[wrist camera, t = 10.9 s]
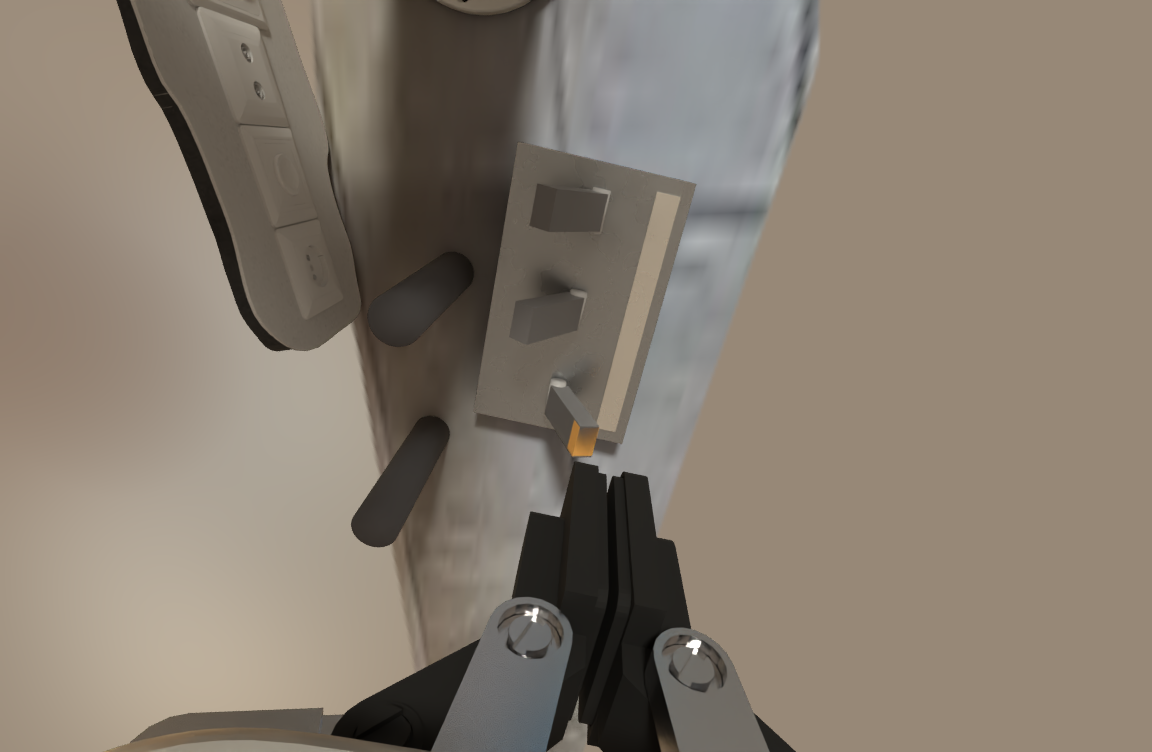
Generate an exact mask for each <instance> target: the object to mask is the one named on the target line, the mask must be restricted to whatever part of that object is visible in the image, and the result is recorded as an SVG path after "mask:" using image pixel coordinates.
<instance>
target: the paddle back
mask: <svg viewBox="0 0 1152 752" xmlns="http://www.w3.org/2000/svg"><path fill="white" fill-rule="evenodd" d="M544 415H545V416H546V417H547V418H548V420H549V422H550V423H551V425H552V426H553V428H554V429H555V431H556V433H557V434H558V436H559V437H560V439H561V440H562V442H563V444H564V445H565V447H566V448H567V450H568V451H569V453H570V455H571V456H572V457H591V456H592V453H593V449H594V446H595V442H596V438H597V434H598V431H599V425H598V424H597V423H596V421H595V420H594V419H593V417H592V416H591V415H590V414H589V412H588V411H587V410H586V408H585V407H584V406H583V405H582V403H581V402H580V401H579V399H578V398H577V397H576V396H575V394H574V393H573V392H572V390H571V389H570V388H569V387H568V386H566V381H565V380H563V379H559V378H552V379H551V382H550V386H549V391H548V395H547V400H546V404H545V409H544Z"/></svg>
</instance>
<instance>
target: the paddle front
mask: <svg viewBox="0 0 1152 752" xmlns="http://www.w3.org/2000/svg"><path fill="white" fill-rule="evenodd" d="M610 194H611V191H609V190H606V189H602V188H597V187H593V190H590V189H581V188H573V187H564V186H556V185H547V184H539V183H537V187H536V192H535V198H534V203H533V209H532V214H531V220H530V225H529V226H532V227H535V228H538V229H541V230H544V231H547V232H590V233H594V234H601V232H602V228H603V224H604V220H605V215H606V211H607V207H608V202H609V198H610Z"/></svg>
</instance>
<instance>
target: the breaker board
mask: <svg viewBox="0 0 1152 752" xmlns="http://www.w3.org/2000/svg"><path fill="white" fill-rule="evenodd" d="M537 183H539V184H547V185H556V186H564V187H573V188H581V189H590V190H593V187H597V188H602V189H606V190H609V191H611V194H610V198H609V202H608V207H607V211H606V215H605V220H604V224H603V228H602V232H601V234H594V233H590V232H547V231H544V230H541V229H538V228H535V227H532V226H529V225H530V220H531V214H532V209H533V203H534V198H535V192H536V187H537ZM695 187H696V184H694V183H691V182H687V181H683V180H679V179H674V178H670V177H666V176H662V175H657V174H653V173H649V172H645V171H641V170H636V169H632V168H628V167H624V166H619V165H615V164H611V163H607V162H603V161H598V160H594V159H590V158H586V157H581V156H577V155H573V154H569V153H564V152H560V151H556V150H552V149H548V148H543V147H539V146H535V145H531V144H526V143H522V142H518V145H517V151H516V157H515V163H514V169H513V175H512V181H511V187H510V193H509V199H508V205H507V211H506V217H505V223H504V229H503V235H502V241H501V247H500V253H499V260H498V266H497V272H496V278H495V284H494V290H493V296H492V302H491V308H490V314H489V320H488V326H487V332H486V338H485V344H484V350H483V356H482V362H481V368H480V374H479V381H478V387H477V393H476V399H475V405H474V411H473V412H475V413H479V414H484V415H489V416H493V417H498V418H503V419H507V420H512V421H517V422H521V423H526V424H531V425H536V426H540V427H545V428H550V429H554V428H553V426H552V425H551V423H550V422H549V420H548V418H547V417H546V416H545V415H544V409H545V404H546V400H547V395H548V391H549V386H550V382H551V379H552V378H559V379H563V380H565V381H566V386H568V387H569V388H570V389H571V390H572V392H573V393H574V394H575V396H576V397H577V398H578V399H579V401H580V402H581V403H582V405H583V406H584V407H585V408H586V410H587V411H588V412H589V414H590V415H591V416H592V417H593V419H594V420H595V421H596V423H597V424H598V425H599V431H598V434H597V438H596V439H601V440H606V441H610V442H615V443H620V444H622V442H623V439H624V435H625V432H626V428H627V425H628V421H629V418H630V414H631V411H632V407H633V404H634V400H635V397H636V393H637V390H638V386H639V383H640V379H641V376H642V372H643V369H644V365H645V362H646V358H647V355H648V351H649V348H650V344H651V341H652V337H653V334H654V330H655V327H656V323H657V320H658V316H659V313H660V309H661V306H662V302H663V299H664V295H665V292H666V288H667V285H668V281H669V278H670V274H671V271H672V267H673V264H674V260H675V257H676V253H677V250H678V246H679V243H680V239H681V236H682V232H683V229H684V225H685V222H686V218H687V215H688V211H689V208H690V205H691V201H692V198H693V194H694V191H695ZM571 289H578V290H582V291H585V292H586V293H587V297H586V302H585V306H584V310H583V314H582V319H581V323H580V327H579V331H578V332H570V333H566V334H563V335H559V336H556V337H552V338H549V339H545V340H542V341H538V342H535V343H531V344H528V345H526V344H523V343H521V342H519V341H517V340H514V339H512V338H510V337H509V335H510V329H511V324H512V319H513V313H514V308H515V302H516V301H518V300H524V299H530V298H535V297H541V296H547V295H553V294H558V293H564V292H570V290H571ZM554 430H555V429H554Z"/></svg>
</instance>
